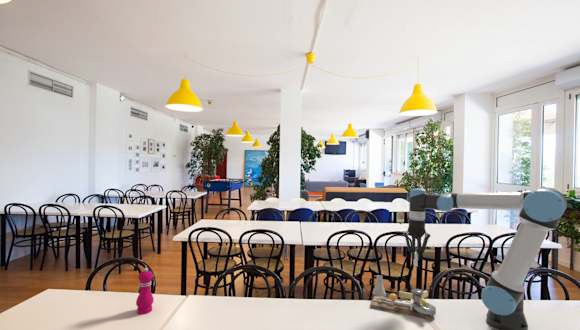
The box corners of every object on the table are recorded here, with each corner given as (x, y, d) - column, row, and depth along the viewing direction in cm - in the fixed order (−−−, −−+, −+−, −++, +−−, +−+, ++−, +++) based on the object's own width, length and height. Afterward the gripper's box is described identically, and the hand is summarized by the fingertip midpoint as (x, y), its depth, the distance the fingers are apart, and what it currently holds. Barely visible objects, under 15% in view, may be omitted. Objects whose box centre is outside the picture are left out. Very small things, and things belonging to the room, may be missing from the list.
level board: (430, 308, 147) (430, 303, 147) (431, 319, 136) (431, 314, 136) (374, 297, 157) (374, 292, 157) (370, 307, 146) (371, 302, 146)
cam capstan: (397, 304, 147) (397, 287, 147) (412, 297, 155) (412, 281, 155) (429, 318, 134) (429, 300, 134) (443, 310, 142) (443, 293, 142)
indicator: (412, 303, 148) (412, 294, 148) (412, 310, 141) (412, 300, 141) (389, 299, 152) (390, 289, 152) (388, 305, 145) (388, 296, 145)
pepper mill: (132, 312, 135) (133, 268, 135) (146, 305, 142) (147, 264, 142) (142, 316, 132) (143, 271, 132) (156, 309, 138) (157, 266, 138)
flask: (386, 298, 157) (387, 279, 157) (372, 296, 159) (373, 277, 159) (385, 292, 164) (385, 274, 164) (371, 290, 166) (372, 273, 166)
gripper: (404, 219, 147) (402, 266, 148) (432, 221, 145) (431, 269, 145) (402, 217, 155) (400, 262, 155) (429, 218, 152) (427, 264, 152)
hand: (415, 265), depth 150 cm, fingers closed
